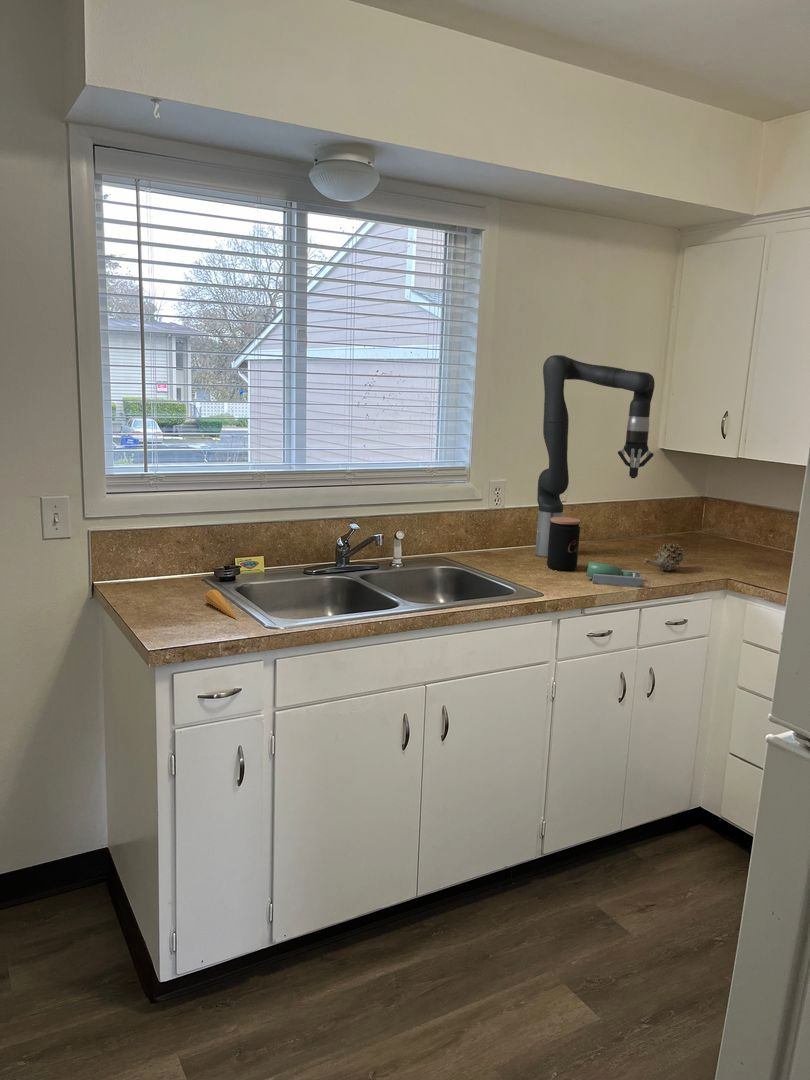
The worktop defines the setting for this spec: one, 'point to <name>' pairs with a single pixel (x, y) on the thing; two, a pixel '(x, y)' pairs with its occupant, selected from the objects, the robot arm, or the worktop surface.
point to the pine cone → (667, 557)
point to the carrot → (219, 602)
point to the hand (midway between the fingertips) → (633, 478)
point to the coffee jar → (563, 543)
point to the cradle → (619, 579)
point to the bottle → (605, 570)
